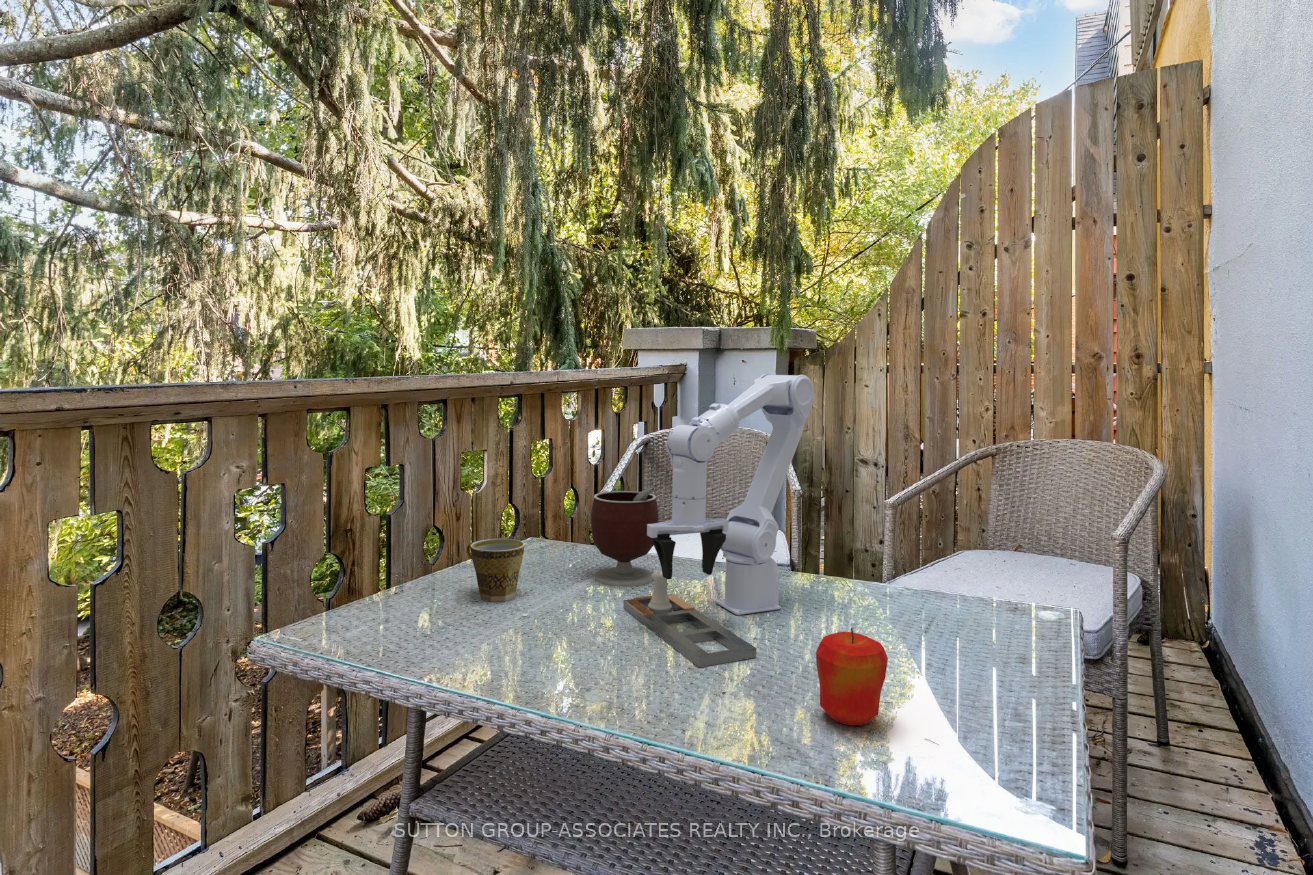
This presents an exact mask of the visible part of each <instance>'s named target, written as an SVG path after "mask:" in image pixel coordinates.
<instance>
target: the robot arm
mask: <svg viewBox="0 0 1313 875" xmlns="http://www.w3.org/2000/svg"><path fill="white" fill-rule="evenodd" d="M815 400H816V394H815V391H814V386H813V383H812V380H811V379H810V377H809V376H807V375H805V374H799V375H795V374H792V375H791V374H790V375H789V374H771V373H763V374H761V376H759V377H758V378H755V379H753V382H752V385H750V387H748V388H747V389H746V390H745V391H743V392H742V393H741V394H740V395H739V396H737V397H736V398H734V400H732V401H731V402H730V403H728V404H726V403H715V402H714V403H711V404H710V405H709V409H708V410H706V411H705V412H704V413H702V414H700V415H699V416H695V417H692V418H691V420H690V422H688V424H679V425H676V426H675V427H674V428H673V429H672V430H671V431H670V432H669V434H668V437H667V440H666V441H665V448H666V451H667V453H668V455H669V458H670V465H671V467H672V481H671V482H672V483H671V484H672V486H671V487H672V488H671V491H672V492H671V498H672V499H671V520H667V521H666V520H664V521H661V522H658V523H655V524H647V536H649V537H650V539H651V541H652V543H653V547H654V549H655V552H656V555H657V557H658V560H659V563H660V570H661V569H662V574H663V577H664V578H666V579H667V580H673V579H672V578H673V561H674V560H673V558H674V552H675V547H676V543H677V542H676V541H675V540H672V536H677V535H688V534H689V535H690V534H691V535H692V534H699V535H700V539H701V540H700V541H701V547H702V548H701V549H702V550H701V551H702V556H701V559H702V560H701V567H702V573H704V574H705V575H708V576H711V575H712V574H713V570H714V566H715V563H716V560H717V558H718V555H719V553H720V551H721V552H722V558H725V574H724V575H725V577H724V578H725V582H724V598H721V599H720V598H719V599H715V603H716V605H718V606H721V607H722V608H724V609H726V610H728V611H729V612H730V613H733V614H734V615H736V616H740V615H747V614H754V613H761V612H768V611H769V612H770V611H775V610H781V605H779V602H780V601H779V598H780V596H779V595H780V594H779V593H780V570H779V567H778V566H779V565H778V564H777V562H776V560H774V558H772V556H773V554H774V553H775V550H776V545H777V535H778V532H779V530H780V526H779V525H778V522H777V521H776V519H775V518H774V515H773V514H772V513H773V511H774V508H775V505H776V502H777V500H778V497H779V495H780V492H781V489H782V487H783V485H784V481H785V479H786V476H787V474H788V471H789V469H790V466H791V463H792V461H793V459H794V456H795V453H796V451H797V447H799V446H798V445H799V442H800V440H801V439H802V438H801V437H802V435H803V432H804V429H805V424H806V423H807V420H808V417H809V415H810V412H811V409H812V407H813V404H814V402H815ZM760 409H761V411H762V413H763V415H764V417H765V418H766V420H767V422H769V423H770V424H771V426H772V430H771V433H770V435H769V437H768V440H767V442H766V444H765V445H766V446H765V448H764V450H763V453H762V456H761V458H760V461H759V463H758V466H757V468H756V471H755V473H754V476H753V478H752V480H751V483H750V485H749V488H748V491H747V494H746V496H745V498H744V501H743V503H741V504H740V505H738V506H737V507H736V506H735V508H734V507H733V509H731V510H730V511H729V513H728V516H727V517H726V518H724V517H723V518H722V517H721V518H720V517H719V518H706V517H707V513H706V512H707V478H708V476H707V474H708V473H707V472H708V470H707V469H708V468H707V467H708V460H710V459H711V457H712V456H713V454H714V453H715V450H716V447H717V446H719V444H720V443H722V442H723V441H725V440H727V438H729V437H730V436H731V435H733V434H734V433H736V432H737V431H738V430H739V427H740V421H742V420H743V419H745V418H747V417H749V416H750V415H752V414H754V413H755V412H757V411H758V410H760Z"/></svg>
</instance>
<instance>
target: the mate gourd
mask: <svg viewBox="0 0 1313 875" xmlns="http://www.w3.org/2000/svg"><path fill="white" fill-rule="evenodd" d="M655 489H656V488H655V487H650V488H646V489H645V490H642V491H631V490H620V491H619V490H616V491H615V490H614V491H604V492H599V493H596V494H594V495H593V501H592V506H591V512H590V529H591V530H590V531H591V535H592V536H591V537H592V542H593V544H594V545H595V548H597V550H598V551H599V553H600V554H602V555H603V556H605V557H607V558H610V559H612V560H614V561H616V563H617V564H616V565H615V566H614V567H607V568H602V569H599V570H597V571H596V572H595V573H594V574H593V575H594V580H595V581H596V582H597V583H599V584H602V585H606V586H611V587H612V586H613V587H636V586H641V585H647V584H649V583H651V582H652V581H654V579H653V578H652V576H651V575H652V574H653V571H650V570H648V569H645V568H640V567H634V566H633V565H632V563H631V561H633V560H636V559H639V558H641V557H645V556H646V555H648V553H649V552H650V551H651V549H653V547H654V545H653V543H652V541H651V539H650V537H649V536H647V524H655V523H659V518H660V517H659V509H658V503H657V496H656V495H655V494H653V493H654V492H655ZM652 492H653V493H652Z"/></svg>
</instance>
